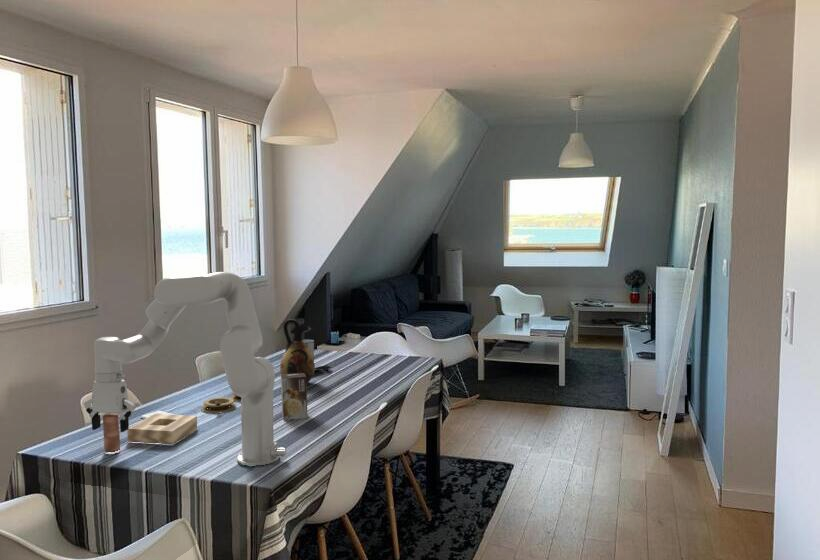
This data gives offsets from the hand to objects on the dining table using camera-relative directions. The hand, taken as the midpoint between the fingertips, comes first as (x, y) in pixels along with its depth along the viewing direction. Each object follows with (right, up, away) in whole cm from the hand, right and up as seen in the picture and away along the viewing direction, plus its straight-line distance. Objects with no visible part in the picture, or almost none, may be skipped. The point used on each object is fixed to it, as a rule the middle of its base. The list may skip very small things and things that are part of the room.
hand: (110, 429), depth 192 cm
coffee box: (+51, -4, +36) cm, 63 cm away
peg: (0, -7, +1) cm, 7 cm away
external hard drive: (+2, -5, +35) cm, 35 cm away
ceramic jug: (+44, 0, +82) cm, 92 cm away
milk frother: (+47, +2, +108) cm, 118 cm away
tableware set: (+23, -4, +54) cm, 59 cm away
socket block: (+11, -6, +15) cm, 19 cm away
